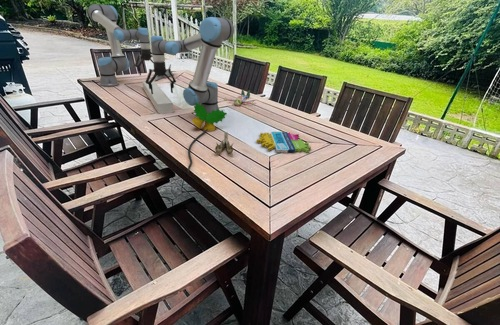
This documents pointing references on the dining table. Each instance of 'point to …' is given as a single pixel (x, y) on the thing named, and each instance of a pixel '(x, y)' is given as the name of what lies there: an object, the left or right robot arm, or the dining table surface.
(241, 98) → the toy
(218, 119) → the ornament
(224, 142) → the jawbone
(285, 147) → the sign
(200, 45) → the right robot arm
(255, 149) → the dining table surface
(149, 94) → the slab
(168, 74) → the airplane
